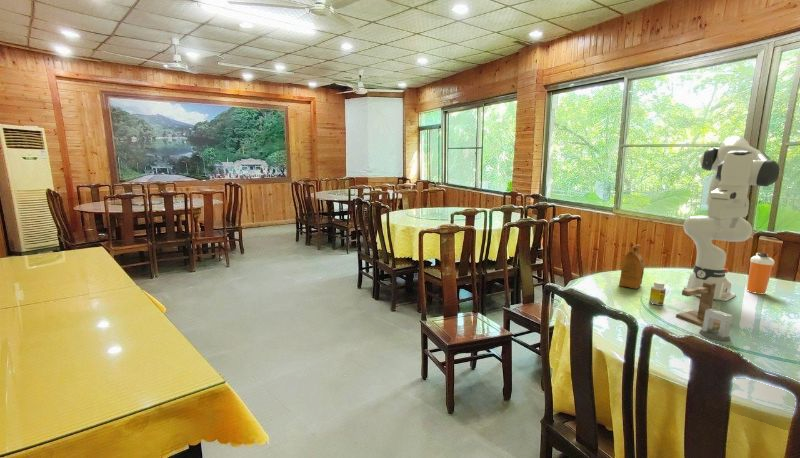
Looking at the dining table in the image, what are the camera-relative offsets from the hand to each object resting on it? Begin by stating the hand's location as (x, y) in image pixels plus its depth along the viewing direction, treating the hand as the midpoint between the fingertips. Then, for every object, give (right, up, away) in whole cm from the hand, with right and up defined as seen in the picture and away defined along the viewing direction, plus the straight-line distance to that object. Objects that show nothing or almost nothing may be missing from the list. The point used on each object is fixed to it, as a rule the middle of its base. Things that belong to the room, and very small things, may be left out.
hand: (725, 229), depth 151 cm
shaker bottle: (+56, -33, +48) cm, 81 cm away
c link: (-8, -40, -5) cm, 41 cm away
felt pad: (-8, -40, -4) cm, 41 cm away
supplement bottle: (-9, -35, +27) cm, 45 cm away
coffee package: (-6, -30, +52) cm, 61 cm away
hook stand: (-6, -38, +7) cm, 39 cm away
